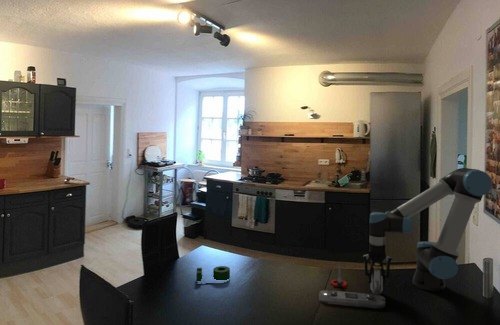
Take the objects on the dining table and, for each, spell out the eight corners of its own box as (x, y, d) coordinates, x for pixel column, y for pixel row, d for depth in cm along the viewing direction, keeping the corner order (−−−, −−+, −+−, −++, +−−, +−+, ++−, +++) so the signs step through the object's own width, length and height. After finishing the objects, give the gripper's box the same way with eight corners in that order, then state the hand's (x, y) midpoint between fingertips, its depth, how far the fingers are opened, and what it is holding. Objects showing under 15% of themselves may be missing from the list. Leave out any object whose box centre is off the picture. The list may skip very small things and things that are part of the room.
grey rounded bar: (383, 301, 160) (383, 293, 160) (386, 309, 152) (386, 301, 152) (319, 295, 167) (319, 287, 166) (318, 302, 159) (318, 294, 159)
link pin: (381, 291, 171) (381, 263, 171) (383, 295, 166) (383, 267, 165) (370, 290, 172) (370, 262, 172) (371, 294, 167) (372, 266, 166)
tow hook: (330, 281, 185) (331, 287, 176) (330, 257, 185) (331, 262, 176) (345, 282, 184) (348, 288, 175) (346, 258, 184) (348, 263, 175)
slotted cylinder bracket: (229, 276, 191) (229, 265, 191) (230, 283, 182) (230, 271, 182) (197, 278, 189) (197, 267, 189) (196, 285, 180) (196, 273, 180)
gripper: (393, 242, 170) (393, 288, 171) (358, 240, 173) (358, 285, 175) (397, 246, 162) (396, 294, 164) (360, 244, 166) (359, 291, 167)
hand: (376, 289), depth 169 cm, fingers closed on link pin, 4 cm apart
